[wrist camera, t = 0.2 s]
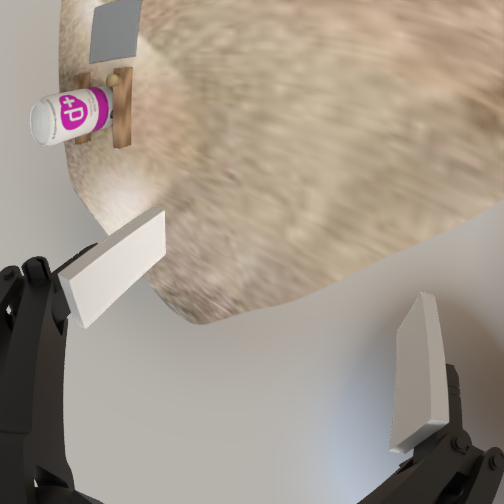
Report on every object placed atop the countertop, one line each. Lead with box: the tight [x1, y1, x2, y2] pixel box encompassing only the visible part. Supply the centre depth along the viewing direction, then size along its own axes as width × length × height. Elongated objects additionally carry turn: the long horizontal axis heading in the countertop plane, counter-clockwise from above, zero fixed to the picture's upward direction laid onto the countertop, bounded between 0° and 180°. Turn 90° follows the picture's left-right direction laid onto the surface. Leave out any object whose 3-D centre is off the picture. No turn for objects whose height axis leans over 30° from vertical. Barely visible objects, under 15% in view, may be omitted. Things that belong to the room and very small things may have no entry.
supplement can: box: [30, 86, 113, 146], centre depth 38 cm, size 8×8×15 cm
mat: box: [89, 0, 142, 63], centre depth 36 cm, size 12×12×1 cm
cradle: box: [74, 68, 133, 149], centre depth 42 cm, size 14×13×4 cm
